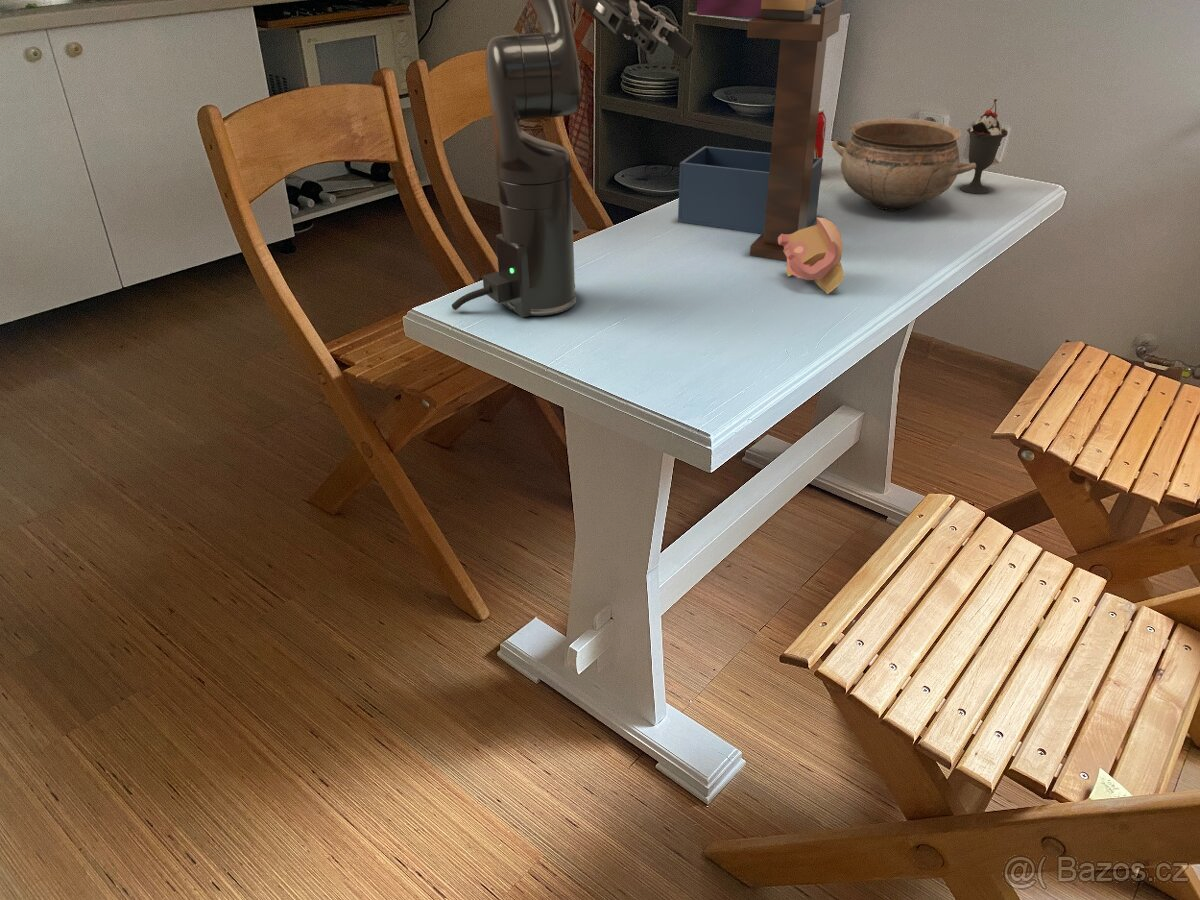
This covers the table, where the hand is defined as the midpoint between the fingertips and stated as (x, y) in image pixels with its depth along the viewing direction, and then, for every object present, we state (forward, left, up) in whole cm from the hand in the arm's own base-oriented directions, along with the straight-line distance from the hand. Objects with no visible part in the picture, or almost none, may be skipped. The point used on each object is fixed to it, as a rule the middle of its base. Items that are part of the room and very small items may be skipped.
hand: (672, 50), depth 126 cm
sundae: (+59, -13, -28) cm, 66 cm away
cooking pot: (+41, -10, -28) cm, 50 cm away
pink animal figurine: (+5, -27, -28) cm, 39 cm away
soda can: (+41, +12, -28) cm, 51 cm away
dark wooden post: (+10, -13, -27) cm, 32 cm away
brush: (+7, -9, +5) cm, 13 cm away
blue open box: (+16, -1, -27) cm, 32 cm away
